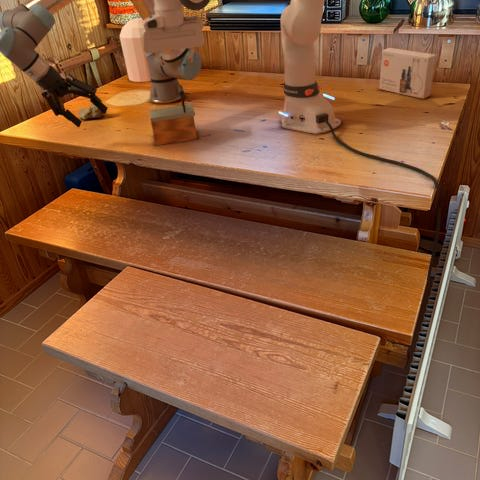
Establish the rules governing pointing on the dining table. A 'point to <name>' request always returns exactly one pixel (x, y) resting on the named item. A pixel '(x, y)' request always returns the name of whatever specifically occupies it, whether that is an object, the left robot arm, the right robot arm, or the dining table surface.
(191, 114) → the lid
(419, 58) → the skincare box
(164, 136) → the chest
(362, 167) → the dining table surface
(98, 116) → the rock
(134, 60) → the container
